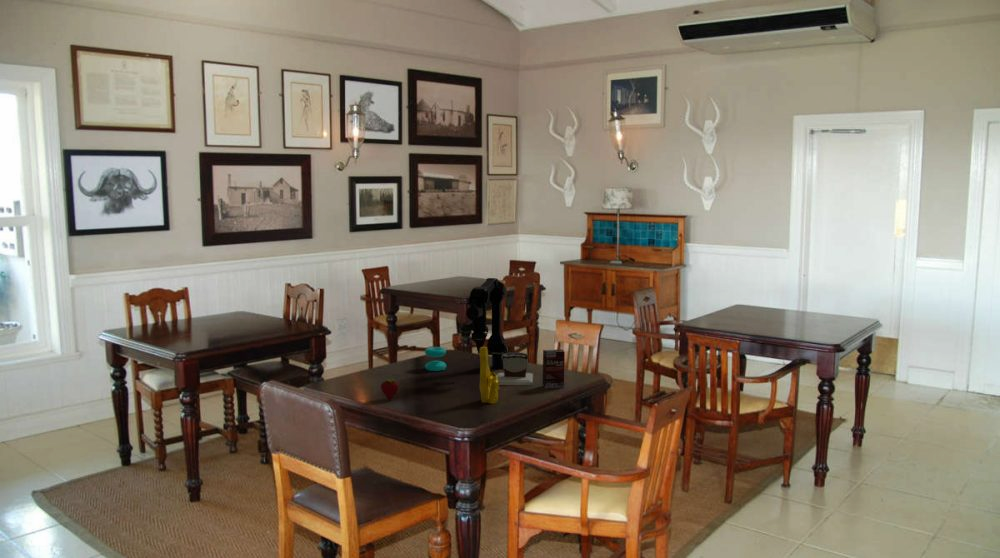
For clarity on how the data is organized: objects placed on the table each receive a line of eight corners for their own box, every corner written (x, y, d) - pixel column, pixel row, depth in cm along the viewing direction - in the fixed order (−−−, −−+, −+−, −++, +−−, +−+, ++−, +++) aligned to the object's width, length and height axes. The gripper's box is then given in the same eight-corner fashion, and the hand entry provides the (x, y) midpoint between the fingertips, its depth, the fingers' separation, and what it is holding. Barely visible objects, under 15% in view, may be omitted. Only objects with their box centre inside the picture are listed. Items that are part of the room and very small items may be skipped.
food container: (529, 374, 353) (529, 352, 352) (529, 377, 347) (529, 355, 346) (501, 373, 353) (501, 351, 352) (501, 377, 347) (501, 354, 346)
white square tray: (497, 376, 357) (497, 372, 357) (533, 376, 356) (533, 372, 356) (495, 385, 341) (495, 380, 341) (532, 385, 341) (532, 380, 340)
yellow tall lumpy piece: (492, 408, 305) (492, 352, 303) (473, 407, 307) (473, 351, 305) (503, 396, 322) (503, 343, 320) (485, 395, 324) (485, 342, 322)
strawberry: (385, 397, 322) (384, 373, 321) (401, 398, 319) (401, 374, 318) (378, 400, 316) (377, 376, 315) (395, 402, 314) (394, 377, 313)
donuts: (443, 350, 365) (422, 350, 366) (443, 372, 366) (422, 371, 368) (448, 346, 375) (427, 346, 376) (448, 367, 376) (427, 366, 377)
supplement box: (545, 388, 335) (545, 352, 333) (542, 386, 340) (542, 349, 338) (564, 387, 337) (565, 351, 335) (561, 385, 341) (561, 348, 340)
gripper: (463, 313, 356) (463, 347, 358) (459, 319, 338) (459, 355, 339) (488, 313, 356) (488, 347, 357) (485, 320, 337) (485, 356, 339)
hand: (480, 351), depth 348 cm, fingers open, 9 cm apart
